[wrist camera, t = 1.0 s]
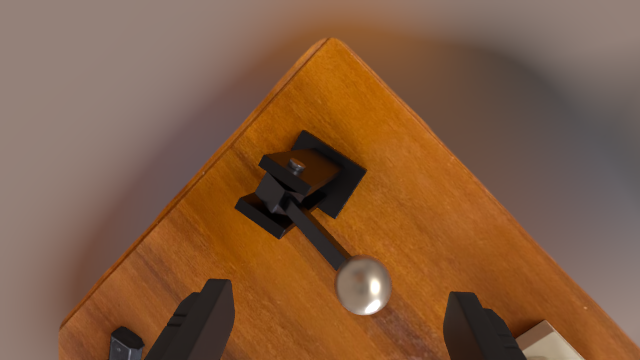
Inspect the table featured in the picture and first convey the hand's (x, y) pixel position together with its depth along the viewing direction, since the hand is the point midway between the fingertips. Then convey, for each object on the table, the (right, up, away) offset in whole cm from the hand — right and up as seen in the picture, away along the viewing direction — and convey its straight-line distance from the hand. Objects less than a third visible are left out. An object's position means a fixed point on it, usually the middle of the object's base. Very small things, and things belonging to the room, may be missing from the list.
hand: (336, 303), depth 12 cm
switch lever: (0, 0, +13) cm, 13 cm away
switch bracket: (0, +5, +28) cm, 28 cm away
